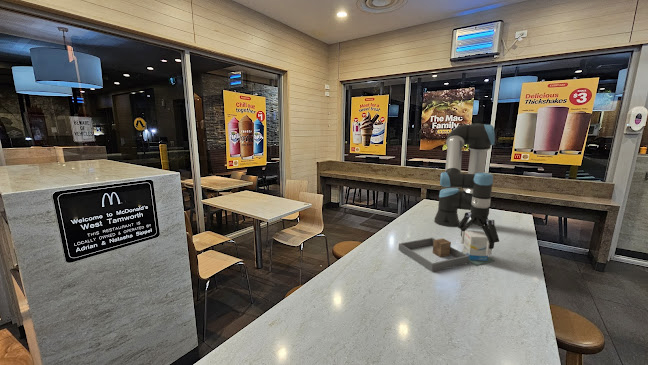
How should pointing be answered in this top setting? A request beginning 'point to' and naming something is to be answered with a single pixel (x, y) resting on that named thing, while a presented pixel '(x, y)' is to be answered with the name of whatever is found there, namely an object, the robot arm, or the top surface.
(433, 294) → the top surface
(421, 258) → the bin
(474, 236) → the ink box
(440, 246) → the walnut block
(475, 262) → the pad
